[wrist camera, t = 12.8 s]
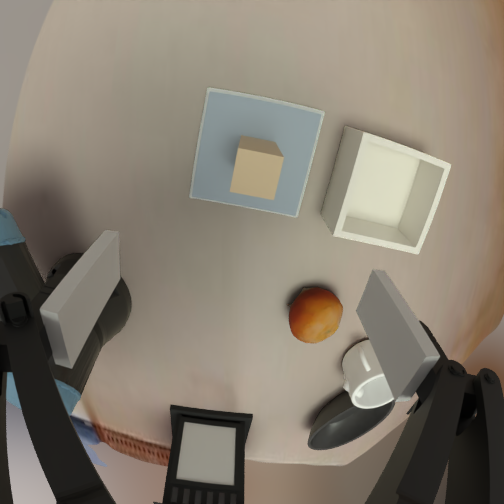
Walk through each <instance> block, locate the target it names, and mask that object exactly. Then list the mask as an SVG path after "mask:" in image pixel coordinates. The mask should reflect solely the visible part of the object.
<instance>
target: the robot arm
mask: <svg viewBox="0 0 504 504" xmlns="http://www.w3.org/2000/svg"><path fill="white" fill-rule="evenodd" d="M25 241H26V240H25V237H23V236H22V234H21V232H20V230H19V228H18V226H17V224H16V222H15V220H14V218H13V216H12V214H11V213H10V212H9V211H8V210H6V209H3V208H0V504H13V498H12V492H11V484H10V477H9V467H8V456H7V441H6V440H7V438H6V400H7V401H9V402H10V403H12V404H13V405H14V406H16V407H18V408H19V409H21V410H22V412H23V416H24V419H25V422H26V425H27V429H28V431H29V434H30V437H31V440H32V443H33V446H34V449H35V451H36V454H37V457H38V459H39V461H40V464H41V466H42V469H43V471H44V473H45V476H46V478H47V481H48V483H49V485H50V487H51V489H52V492H53V494H54V496H55V498H56V501H57V503H56V504H116V503H115V501H114V499H113V498H112V496H111V495H110V493H109V491H108V490H107V488H106V486H105V485H104V483H103V481H102V480H101V478H100V476H99V474H98V473H97V471H96V469H95V467H94V465H93V464H92V462H91V460H90V458H89V456H88V454H87V452H86V450H85V448H84V446H83V444H82V442H81V440H80V438H79V436H78V434H77V432H76V430H75V428H74V425H73V423H72V421H71V419H70V415H71V413H72V411H73V409H74V407H75V406H76V404H77V402H78V401H79V400H80V398H81V395H82V392H83V390H84V387H85V385H86V382H87V380H88V378H89V375H90V373H91V371H92V368H93V366H94V364H95V361H96V359H97V357H98V355H99V352H100V350H101V348H102V346H103V345H104V344H105V343H107V342H108V341H109V340H110V339H111V338H113V337H114V336H115V335H116V334H117V333H119V332H120V331H121V330H122V328H123V327H124V326H125V324H126V322H127V320H128V317H129V315H130V312H131V298H130V294H129V291H128V289H127V286H126V285H125V283H124V281H123V280H122V278H121V277H120V251H119V232H118V231H111V230H105V231H104V232H103V233H102V234H101V235H100V236H99V237H98V239H97V240H96V241H95V242H94V243H93V244H92V245H91V246H90V248H89V249H88V250H87V251H86V252H85V253H84V254H70V255H67V256H65V257H63V258H61V259H60V260H59V261H58V262H57V263H56V264H55V265H54V266H53V268H52V269H51V270H50V272H49V274H48V276H47V279H46V282H45V283H44V281H43V279H42V277H41V275H40V273H39V271H38V269H37V267H36V265H35V263H34V261H33V259H32V257H31V254H30V252H29V250H28V248H27V245H26V243H25ZM356 311H357V314H358V316H359V318H360V320H361V322H362V325H363V327H364V329H365V331H366V334H367V336H368V338H369V340H370V343H371V345H372V347H373V350H374V352H375V354H376V356H377V359H378V361H379V364H380V366H381V368H382V371H383V373H384V375H385V378H386V380H387V383H388V385H389V388H390V390H391V393H392V395H393V398H394V400H395V402H400V401H409V400H410V399H411V397H412V396H413V395H414V393H415V392H416V393H417V395H418V397H419V398H418V400H417V401H416V402H415V403H414V405H413V406H412V407H411V408H410V410H409V411H408V412H407V413H406V414H409V413H410V412H411V413H410V416H409V418H408V420H407V423H406V425H405V427H404V430H403V432H402V434H401V436H400V438H399V441H398V443H397V445H396V447H395V449H394V451H393V453H392V455H391V457H390V459H389V461H388V463H387V465H386V467H385V469H384V471H383V472H382V474H381V476H380V478H379V480H378V482H377V483H376V485H375V487H374V489H373V490H372V492H371V494H370V495H369V497H368V499H367V501H366V502H365V504H433V502H434V500H435V497H436V494H437V492H438V489H439V486H440V483H441V480H442V477H443V474H444V471H445V468H446V465H447V462H448V459H449V463H448V478H447V490H446V499H445V504H504V397H503V393H502V388H501V383H500V380H499V378H498V376H497V375H496V373H495V372H493V371H492V370H490V369H487V368H483V369H481V370H480V371H479V373H478V374H477V376H475V375H471V374H467V372H466V370H465V368H464V367H463V366H462V365H461V364H460V363H458V362H456V361H454V360H448V358H447V357H446V355H445V353H444V352H443V350H442V349H441V347H440V345H439V344H438V342H436V339H435V337H434V336H433V334H432V333H431V331H430V330H429V328H428V327H427V326H426V325H425V324H424V323H423V322H422V321H418V319H417V318H416V316H415V315H414V313H413V312H412V310H411V308H410V307H409V305H408V304H407V302H406V301H405V299H404V298H403V296H402V295H401V293H400V292H399V291H398V289H397V288H396V286H395V285H394V283H393V282H392V280H391V279H390V278H389V276H388V275H387V273H386V272H385V271H382V270H376V269H373V270H372V273H371V275H370V278H369V280H368V283H367V285H366V288H365V290H364V293H363V295H362V298H361V300H360V303H359V305H358V307H357V310H356ZM476 413H477V415H476V417H475V414H476Z"/></svg>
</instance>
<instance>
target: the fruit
mask: <svg viewBox="0 0 504 504" xmlns="http://www.w3.org/2000/svg"><path fill="white" fill-rule="evenodd" d="M287 305H289V304H287ZM289 306H291V307H290V312H289V324H290V328H291V331H292V334H293V335H294V336H295V337H296V338H297V339H298V340H300V341H303V342H305V343H318V342H320V341H323V340H325V339H326V338H328V337H330V336H331V335H333V334H334V333H335V331H336V330H337V329H338V327H339V324H340V320H341V317H342V312H343V306H342V304H341V303H340V301H339V299H338V298H337V297H336V296H335V295H334V294H332V293H331V292H329V291H327V290H325V289H322V288H319V287H313V288H304V287H303V290H302V292H301V293H300V294H299V295H298V297H297V298H296V299H295V300H294V302H293V303H292V304H290V305H289Z"/></svg>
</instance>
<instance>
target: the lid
mask: <svg viewBox="0 0 504 504" xmlns="http://www.w3.org/2000/svg"><path fill="white" fill-rule="evenodd" d="M320 119H321V114H318V113H314V112H310V111H306V110H302V109H298V108H294V107H290V106H285V105H281V104H276V103H272V102H267V101H262V100H257V99H252V98H247V97H241V96H236V95H230V94H224V93H218V92H211V91H210V93H209V98H208V103H207V108H206V113H205V119H204V124H203V130H202V135H201V141H200V147H199V153H198V159H197V165H196V172H195V178H194V185H193V192H192V197H196V198H202V199H208V200H213V201H219V202H225V203H230V204H236V205H241V206H246V207H252V208H257V209H262V210H267V211H272V212H277V213H283V214H288V215H292V216H296V212H297V208H298V205H299V201H300V197H301V193H302V190H303V186H304V182H305V178H306V174H307V170H308V167H309V163H310V159H311V155H312V151H313V147H314V143H315V139H316V135H317V131H318V127H319V123H320Z"/></svg>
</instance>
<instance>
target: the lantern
mask: <svg viewBox="0 0 504 504" xmlns="http://www.w3.org/2000/svg"><path fill="white" fill-rule="evenodd" d="M170 414H171V425H172V435H173V439H172V445H171V451H170V457H169V463H168V470H167V476H166V482H165V489H164V496H163V503H157V502H153V503H154V504H244V458H245V443H246V439H247V436H248V432H249V429H250V425H251V422H252V419H253V414H245V413H233V412H223V411H213V410H205V409H197V408H190V407H183V406H176V405H171V407H170Z"/></svg>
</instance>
